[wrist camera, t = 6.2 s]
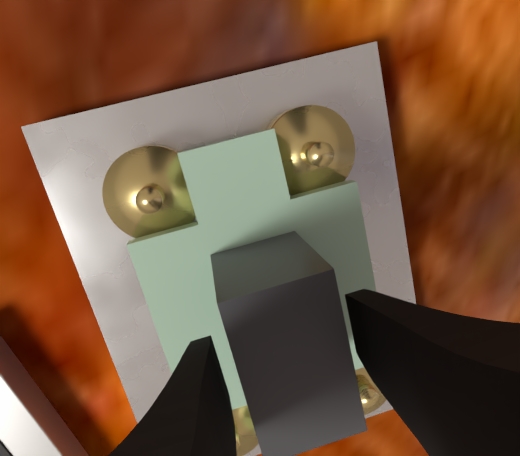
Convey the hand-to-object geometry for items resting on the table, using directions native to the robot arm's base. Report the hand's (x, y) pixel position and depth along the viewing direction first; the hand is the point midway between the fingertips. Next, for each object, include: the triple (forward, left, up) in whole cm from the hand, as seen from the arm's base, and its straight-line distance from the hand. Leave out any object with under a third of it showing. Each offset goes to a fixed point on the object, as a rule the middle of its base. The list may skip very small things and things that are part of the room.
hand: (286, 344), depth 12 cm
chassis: (0, 0, -6) cm, 6 cm away
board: (0, 0, -3) cm, 3 cm away
